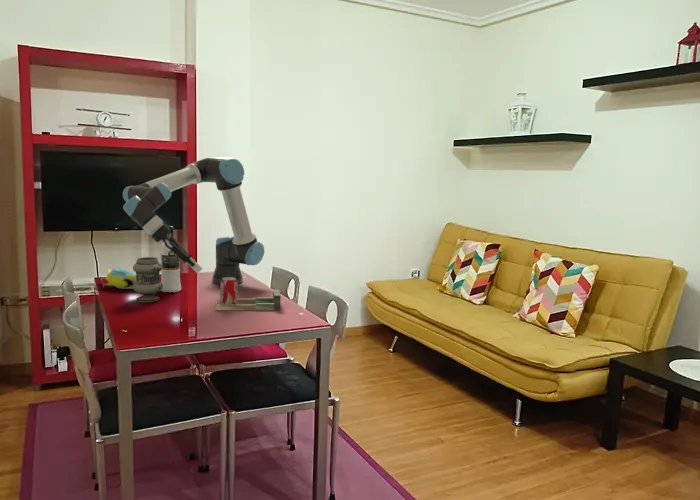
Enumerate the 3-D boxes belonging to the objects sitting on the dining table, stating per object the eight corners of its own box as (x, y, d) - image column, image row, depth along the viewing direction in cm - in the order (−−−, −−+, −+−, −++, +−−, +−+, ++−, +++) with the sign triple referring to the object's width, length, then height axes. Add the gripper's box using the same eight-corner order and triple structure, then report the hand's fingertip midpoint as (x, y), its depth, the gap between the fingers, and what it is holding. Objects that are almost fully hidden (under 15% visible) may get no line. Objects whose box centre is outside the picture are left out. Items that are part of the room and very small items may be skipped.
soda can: (233, 309, 232) (233, 280, 230) (217, 307, 233) (217, 279, 231) (240, 305, 238) (240, 277, 237) (224, 304, 240) (224, 276, 238)
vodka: (181, 288, 266) (181, 225, 262) (180, 292, 258) (180, 227, 254) (160, 288, 264) (160, 224, 260) (159, 293, 255) (159, 227, 251)
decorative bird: (133, 294, 251) (133, 273, 250) (85, 286, 264) (84, 266, 262) (156, 289, 264) (156, 269, 262) (109, 281, 276) (108, 262, 275)
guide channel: (217, 303, 241) (217, 289, 240) (278, 303, 245) (278, 289, 245) (215, 310, 229) (215, 295, 228) (280, 309, 234) (280, 295, 233)
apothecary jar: (132, 297, 245) (132, 256, 243) (161, 296, 250) (161, 255, 247) (133, 303, 234) (133, 260, 232) (164, 302, 239) (164, 260, 236)
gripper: (152, 234, 232) (194, 274, 237) (147, 237, 219) (191, 280, 225) (166, 221, 232) (207, 262, 238) (161, 224, 220) (205, 267, 225)
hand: (199, 271), depth 231 cm, fingers closed
